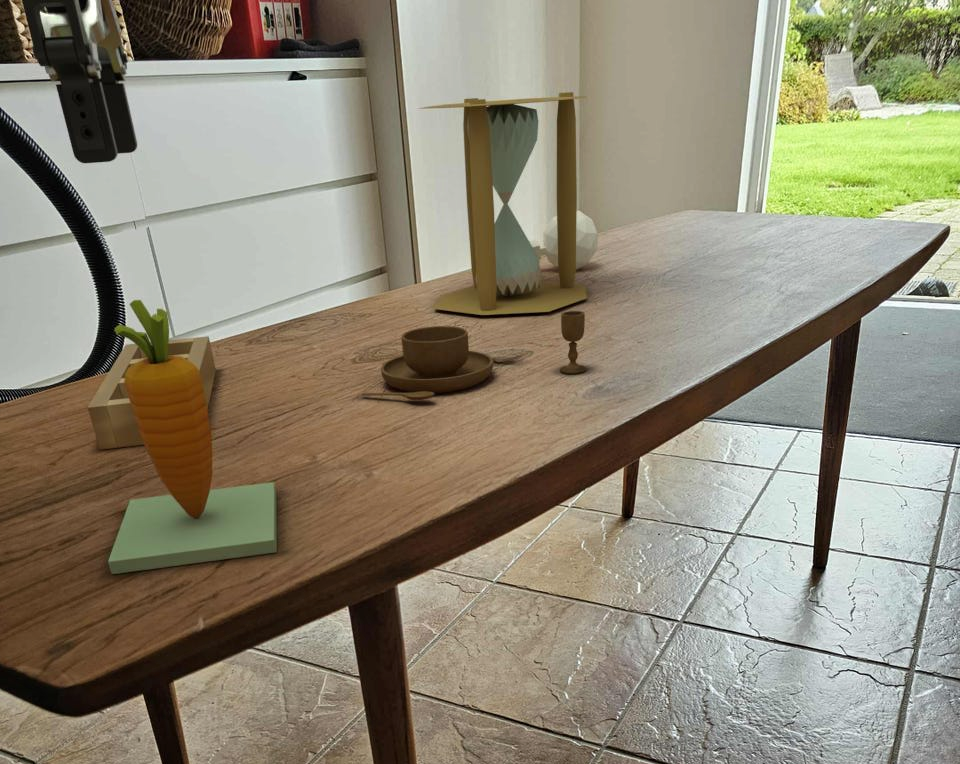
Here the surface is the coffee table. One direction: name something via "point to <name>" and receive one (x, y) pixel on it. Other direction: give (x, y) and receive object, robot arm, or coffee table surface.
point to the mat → (196, 529)
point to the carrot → (170, 412)
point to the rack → (113, 401)
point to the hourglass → (503, 245)
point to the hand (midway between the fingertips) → (110, 157)
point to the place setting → (457, 359)
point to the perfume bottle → (584, 241)
